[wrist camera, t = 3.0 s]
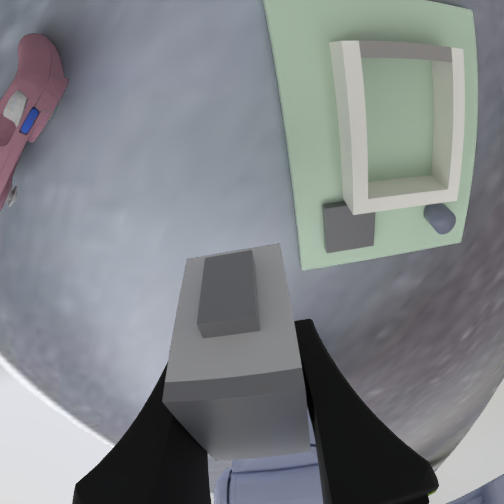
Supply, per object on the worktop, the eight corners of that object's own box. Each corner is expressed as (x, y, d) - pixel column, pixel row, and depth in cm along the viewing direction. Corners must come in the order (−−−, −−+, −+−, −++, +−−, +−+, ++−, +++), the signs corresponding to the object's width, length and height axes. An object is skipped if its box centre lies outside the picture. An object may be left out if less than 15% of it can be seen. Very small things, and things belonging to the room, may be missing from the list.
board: (455, 236, 20) (474, 258, 18) (300, 263, 21) (307, 291, 18) (464, 10, 11) (493, 10, 9) (262, -1, 12) (267, -13, 9)
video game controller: (18, 172, 17) (0, 249, 14) (-32, 149, 14) (-64, 225, 10) (92, 56, 14) (79, 107, 10) (35, 21, 10) (-8, 59, 7)
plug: (292, 331, 15) (310, 451, 10) (219, 342, 15) (215, 460, 10) (277, 229, 11) (304, 374, 6) (182, 246, 12) (152, 389, 7)
